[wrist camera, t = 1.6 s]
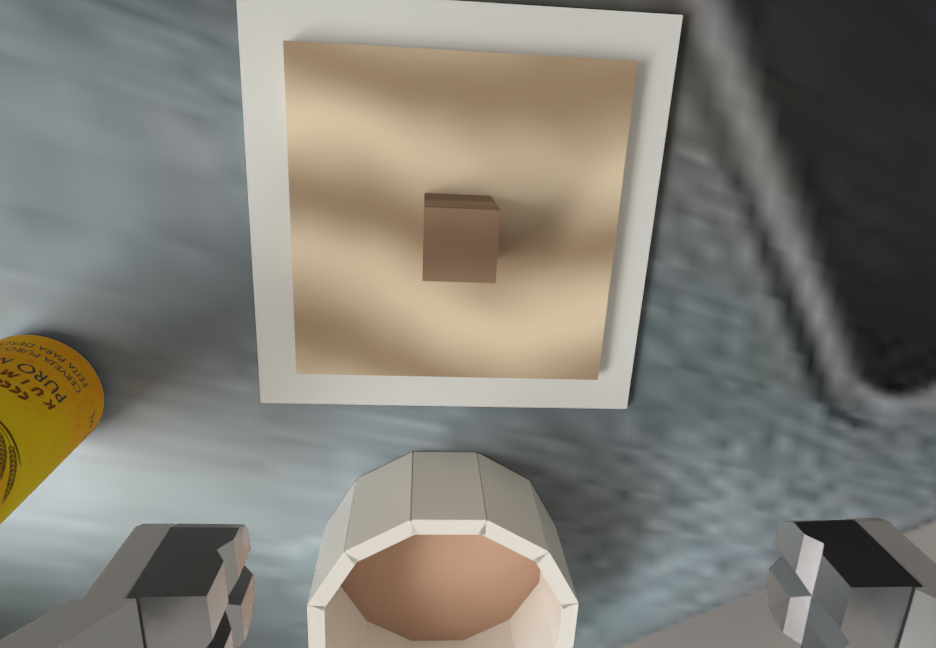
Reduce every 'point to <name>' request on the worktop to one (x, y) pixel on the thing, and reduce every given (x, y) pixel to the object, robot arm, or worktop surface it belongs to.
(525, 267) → the lid
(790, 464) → the worktop surface
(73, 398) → the beer can
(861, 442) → the worktop surface
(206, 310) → the worktop surface
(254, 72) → the mat
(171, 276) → the worktop surface
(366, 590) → the bowl
